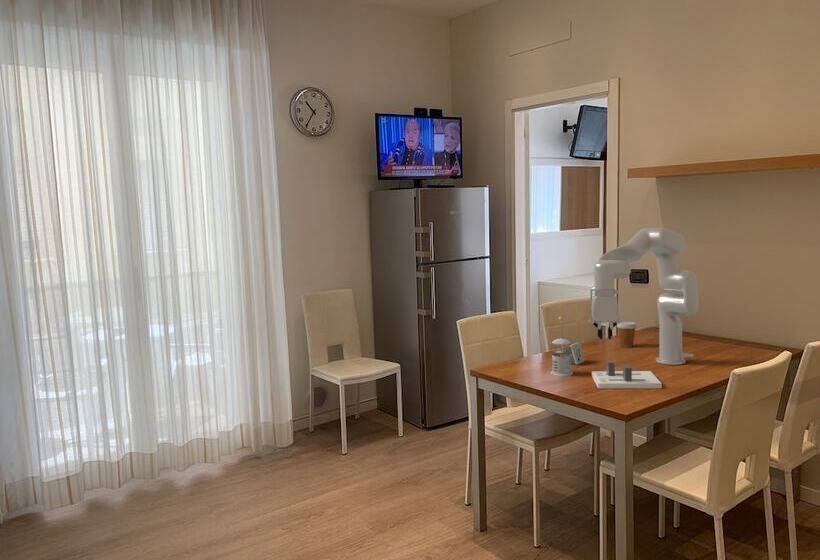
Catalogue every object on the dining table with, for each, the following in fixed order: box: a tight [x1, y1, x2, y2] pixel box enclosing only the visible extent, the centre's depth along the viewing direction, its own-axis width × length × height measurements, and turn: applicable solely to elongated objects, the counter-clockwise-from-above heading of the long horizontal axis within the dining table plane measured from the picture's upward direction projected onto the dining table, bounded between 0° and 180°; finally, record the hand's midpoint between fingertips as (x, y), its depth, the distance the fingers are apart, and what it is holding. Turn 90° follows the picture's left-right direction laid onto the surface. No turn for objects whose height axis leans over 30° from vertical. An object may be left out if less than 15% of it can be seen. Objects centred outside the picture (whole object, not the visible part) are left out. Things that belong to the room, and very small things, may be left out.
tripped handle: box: [622, 364, 633, 381], centre depth 256 cm, size 2×5×5 cm, turn 172°
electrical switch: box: [565, 341, 586, 366], centre depth 296 cm, size 9×5×9 cm, turn 141°
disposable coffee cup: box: [616, 321, 637, 348], centre depth 324 cm, size 10×10×12 cm
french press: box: [550, 316, 574, 377], centre depth 278 cm, size 10×12×25 cm
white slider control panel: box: [591, 359, 663, 389], centre depth 260 cm, size 24×19×8 cm
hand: (605, 338), depth 255 cm, fingers closed
